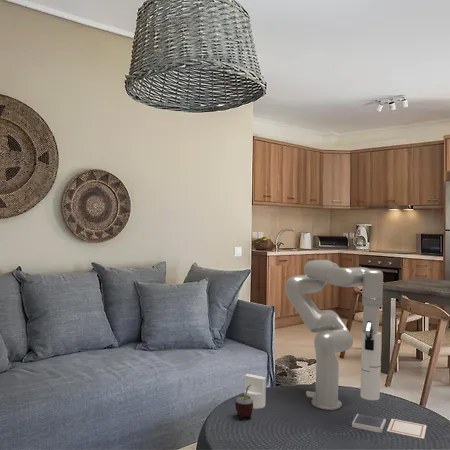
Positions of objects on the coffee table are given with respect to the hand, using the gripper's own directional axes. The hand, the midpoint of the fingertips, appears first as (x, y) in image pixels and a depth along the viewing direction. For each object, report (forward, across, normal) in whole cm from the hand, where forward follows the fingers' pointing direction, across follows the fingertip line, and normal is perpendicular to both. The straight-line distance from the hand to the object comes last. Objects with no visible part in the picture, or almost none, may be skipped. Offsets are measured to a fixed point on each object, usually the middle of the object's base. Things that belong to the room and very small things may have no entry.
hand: (371, 347), depth 188 cm
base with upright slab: (+31, +2, -47) cm, 56 cm away
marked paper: (+30, -4, +14) cm, 33 cm away
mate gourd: (+31, +18, -45) cm, 57 cm away
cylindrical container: (+19, 0, 0) cm, 19 cm away
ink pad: (+30, 0, 0) cm, 30 cm away
